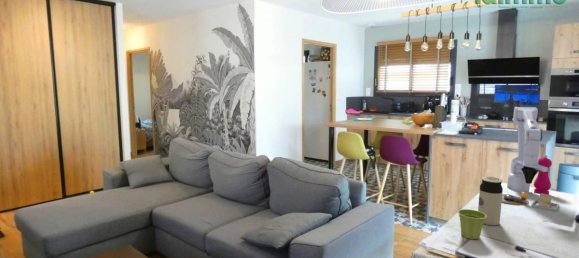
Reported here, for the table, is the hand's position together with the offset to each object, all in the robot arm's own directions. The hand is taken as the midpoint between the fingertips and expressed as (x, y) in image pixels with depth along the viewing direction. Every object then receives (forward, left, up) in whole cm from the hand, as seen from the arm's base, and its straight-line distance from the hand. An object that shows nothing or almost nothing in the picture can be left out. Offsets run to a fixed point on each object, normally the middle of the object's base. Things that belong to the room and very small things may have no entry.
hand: (528, 183), depth 168 cm
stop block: (+9, -1, -9) cm, 13 cm away
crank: (0, -7, -8) cm, 10 cm away
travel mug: (+14, -36, -10) cm, 40 cm away
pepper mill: (-9, +20, -10) cm, 24 cm away
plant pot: (+23, -53, -10) cm, 59 cm away
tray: (+9, -1, -9) cm, 13 cm away
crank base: (-2, -8, -9) cm, 13 cm away
